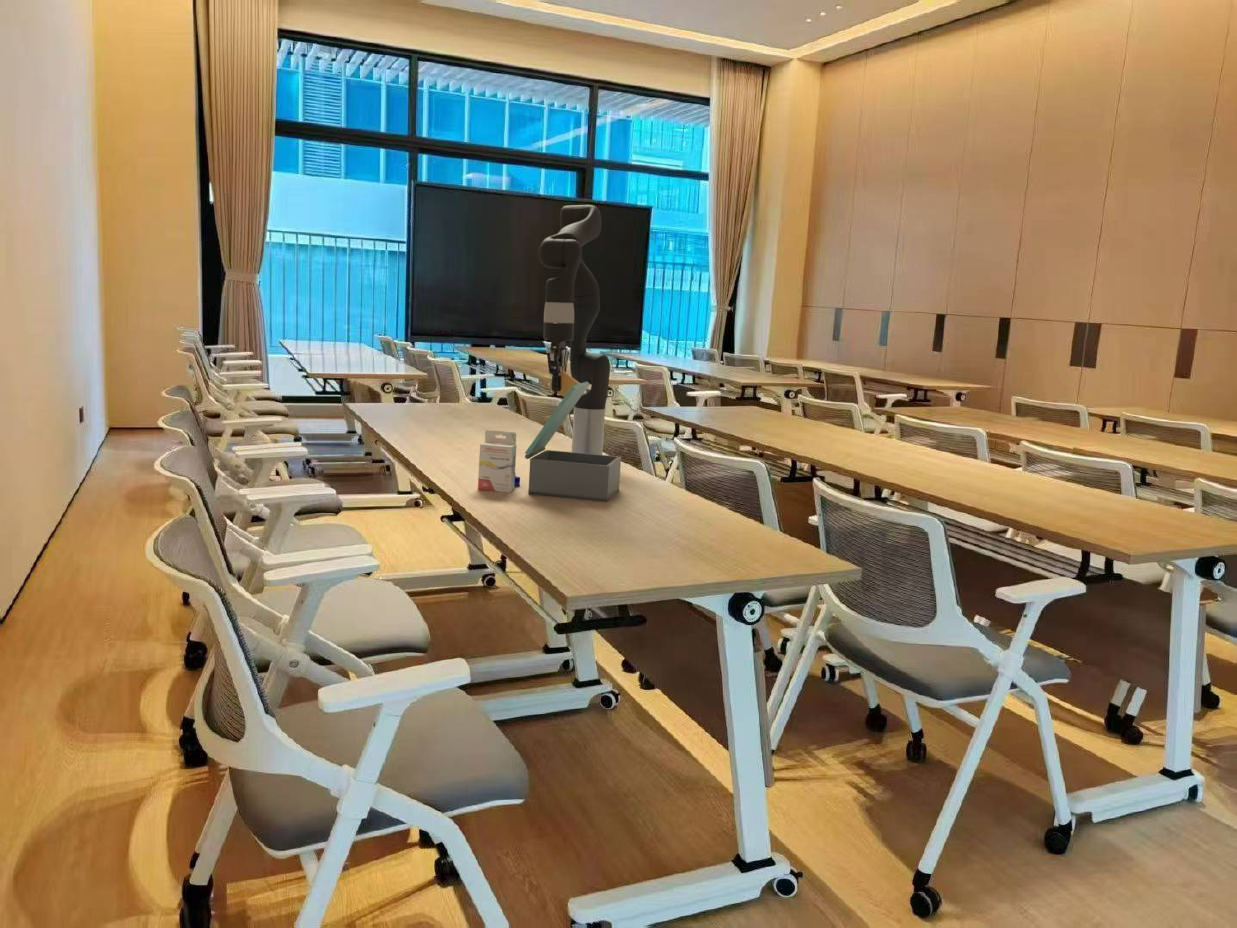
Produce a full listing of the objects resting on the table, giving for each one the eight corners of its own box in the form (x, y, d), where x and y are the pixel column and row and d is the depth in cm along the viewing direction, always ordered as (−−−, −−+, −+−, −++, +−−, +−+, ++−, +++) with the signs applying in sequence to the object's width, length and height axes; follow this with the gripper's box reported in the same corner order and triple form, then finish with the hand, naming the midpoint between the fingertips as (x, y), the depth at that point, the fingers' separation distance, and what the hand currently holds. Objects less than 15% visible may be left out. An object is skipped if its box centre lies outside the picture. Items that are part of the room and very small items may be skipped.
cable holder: (519, 486, 244) (520, 471, 243) (508, 487, 242) (508, 472, 241) (502, 481, 250) (503, 466, 249) (491, 482, 248) (492, 467, 247)
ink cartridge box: (477, 490, 236) (479, 432, 233) (481, 486, 240) (484, 429, 238) (510, 492, 235) (513, 434, 232) (514, 489, 240) (517, 432, 237)
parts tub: (545, 483, 250) (546, 449, 248) (618, 490, 246) (621, 456, 245) (528, 494, 234) (530, 458, 233) (606, 502, 231) (609, 466, 229)
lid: (544, 451, 249) (522, 433, 249) (591, 385, 243) (568, 367, 244) (526, 460, 232) (503, 442, 233) (576, 390, 227) (552, 371, 228)
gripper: (551, 320, 241) (549, 388, 244) (537, 320, 228) (535, 392, 231) (579, 321, 240) (577, 389, 243) (567, 322, 227) (565, 393, 230)
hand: (557, 390), depth 237 cm, fingers closed on lid
